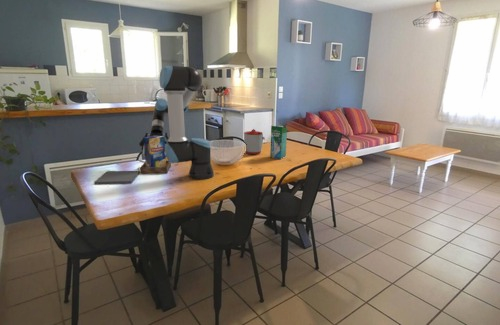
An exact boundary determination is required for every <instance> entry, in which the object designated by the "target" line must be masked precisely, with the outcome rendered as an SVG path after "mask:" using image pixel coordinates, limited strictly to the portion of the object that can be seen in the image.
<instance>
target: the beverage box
mask: <svg viewBox="0 0 500 325" xmlns="http://www.w3.org/2000/svg"><path fill="white" fill-rule="evenodd" d="M143 138H144V150H145V156H144V158H145V159H144V160H145V162H146V167H165V166H166V161H167V156H165V141H166V140H165V139H166V137H164V136H160V135H156V136H149V137H145V136H143ZM143 138H142V139H143ZM145 162H144V163H145Z"/></svg>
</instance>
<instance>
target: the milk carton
mask: <svg viewBox="0 0 500 325" xmlns="http://www.w3.org/2000/svg"><path fill="white" fill-rule="evenodd" d="M270 129H271V131H270V151H269V154H270V155H269V158H270V157H274V158H273V159H275V158H279V159H278V160H282V159H284V158H283V157H285V156H286V154H287V137H288V127H284V126H283V125H277V126H275V125H271V126H270ZM281 158H282V159H281ZM285 158H286V157H285Z"/></svg>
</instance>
